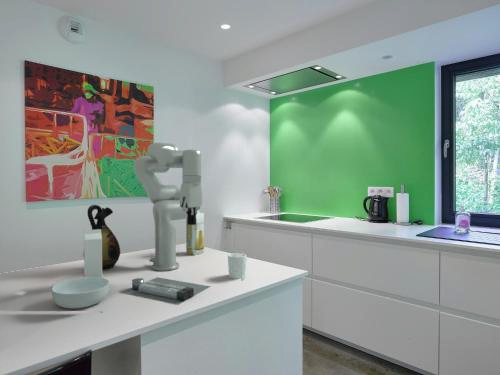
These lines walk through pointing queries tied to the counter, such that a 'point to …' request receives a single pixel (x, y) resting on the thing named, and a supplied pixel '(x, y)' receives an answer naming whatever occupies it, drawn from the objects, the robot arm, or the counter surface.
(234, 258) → the white cup
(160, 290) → the bar
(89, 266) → the milk
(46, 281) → the counter surface
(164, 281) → the slate board
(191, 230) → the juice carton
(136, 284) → the moving tong arm
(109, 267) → the ceramic jug
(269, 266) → the counter surface
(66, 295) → the cereal bowl
